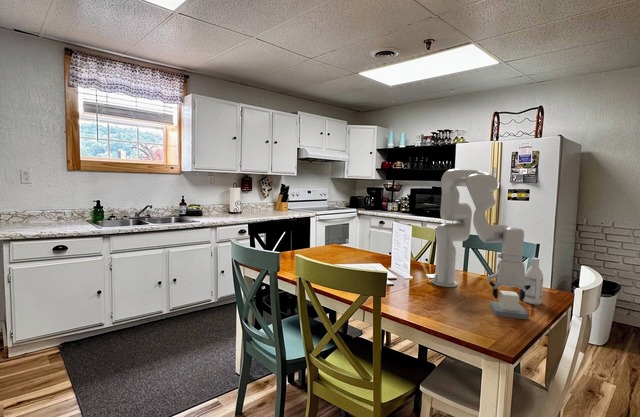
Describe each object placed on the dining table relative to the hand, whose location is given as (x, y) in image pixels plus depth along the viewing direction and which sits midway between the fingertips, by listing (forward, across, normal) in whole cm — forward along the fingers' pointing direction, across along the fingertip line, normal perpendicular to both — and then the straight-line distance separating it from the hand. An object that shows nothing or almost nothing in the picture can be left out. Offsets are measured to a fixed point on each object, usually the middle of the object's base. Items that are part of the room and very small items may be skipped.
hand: (508, 298), depth 147 cm
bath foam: (+6, +14, +17) cm, 23 cm away
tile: (+6, 0, 0) cm, 6 cm away
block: (+4, 0, 0) cm, 4 cm away
